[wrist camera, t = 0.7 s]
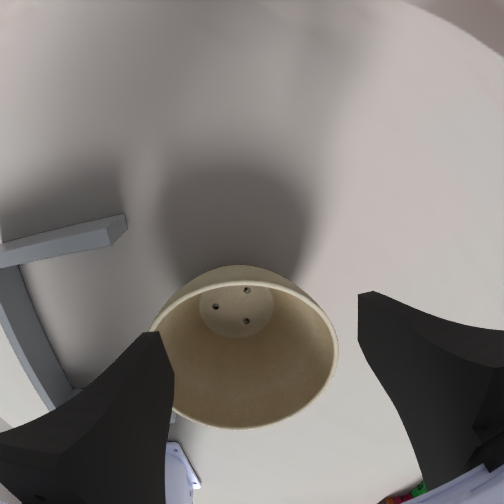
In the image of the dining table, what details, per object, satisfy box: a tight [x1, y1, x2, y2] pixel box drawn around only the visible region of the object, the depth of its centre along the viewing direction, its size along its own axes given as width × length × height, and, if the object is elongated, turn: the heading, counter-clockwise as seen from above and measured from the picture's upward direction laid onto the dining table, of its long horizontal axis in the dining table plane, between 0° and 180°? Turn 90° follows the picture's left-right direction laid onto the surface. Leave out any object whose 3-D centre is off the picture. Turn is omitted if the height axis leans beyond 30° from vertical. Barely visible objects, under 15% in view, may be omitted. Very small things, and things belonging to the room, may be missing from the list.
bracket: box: [0, 214, 177, 424], centre depth 20 cm, size 15×11×4 cm
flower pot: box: [148, 265, 339, 431], centre depth 19 cm, size 10×10×7 cm
